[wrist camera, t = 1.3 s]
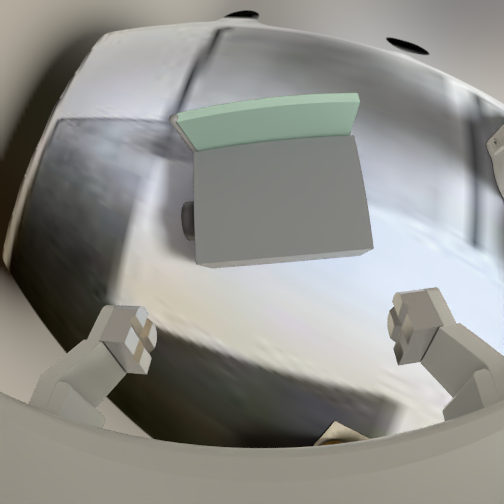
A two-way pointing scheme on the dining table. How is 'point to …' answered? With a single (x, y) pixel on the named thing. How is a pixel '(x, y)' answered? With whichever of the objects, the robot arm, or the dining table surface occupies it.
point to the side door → (267, 120)
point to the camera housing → (278, 203)
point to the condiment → (339, 435)
